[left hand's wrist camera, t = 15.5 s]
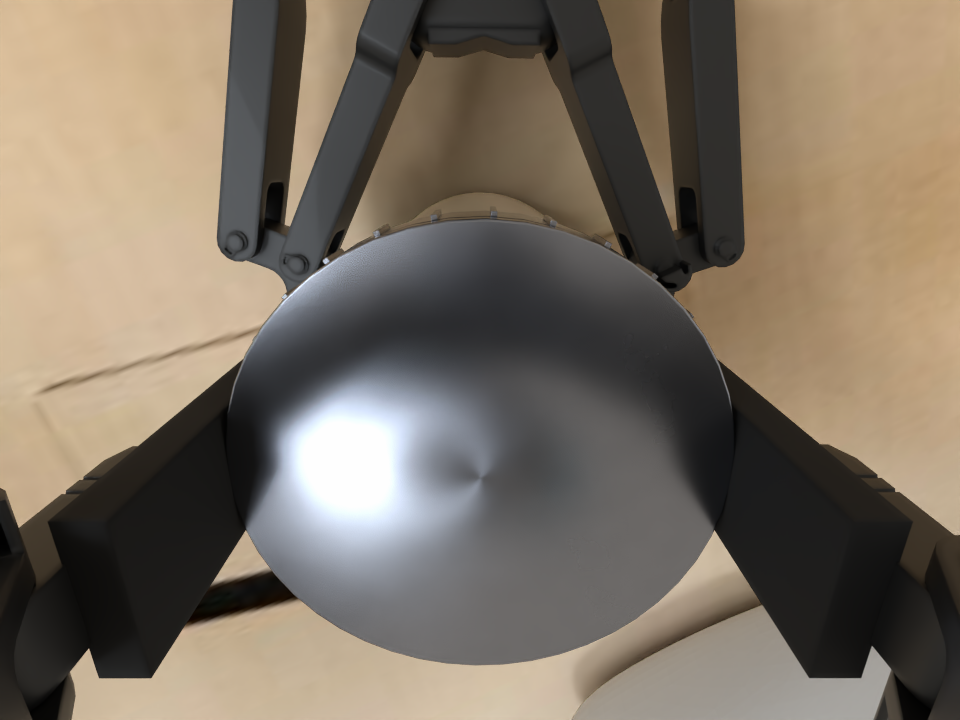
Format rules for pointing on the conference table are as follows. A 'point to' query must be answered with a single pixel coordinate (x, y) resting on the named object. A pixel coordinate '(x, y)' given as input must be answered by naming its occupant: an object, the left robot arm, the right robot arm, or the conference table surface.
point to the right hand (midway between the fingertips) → (478, 449)
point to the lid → (480, 439)
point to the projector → (734, 681)
